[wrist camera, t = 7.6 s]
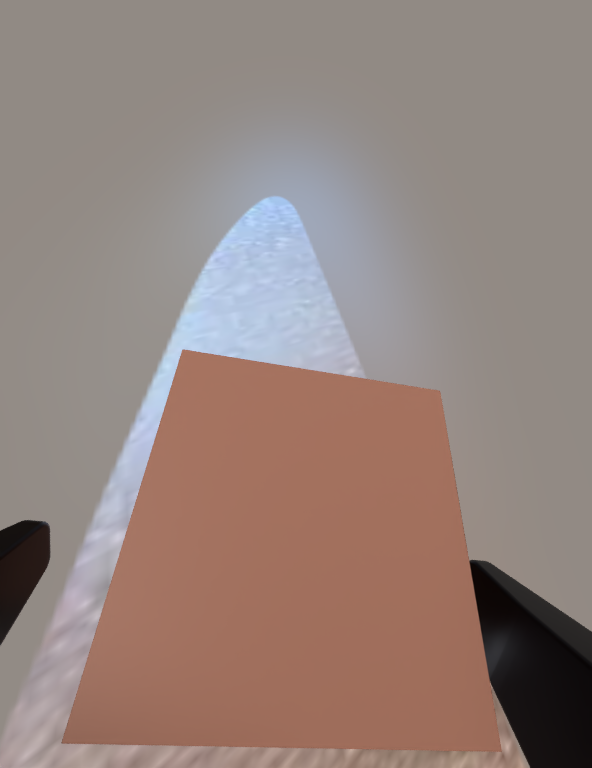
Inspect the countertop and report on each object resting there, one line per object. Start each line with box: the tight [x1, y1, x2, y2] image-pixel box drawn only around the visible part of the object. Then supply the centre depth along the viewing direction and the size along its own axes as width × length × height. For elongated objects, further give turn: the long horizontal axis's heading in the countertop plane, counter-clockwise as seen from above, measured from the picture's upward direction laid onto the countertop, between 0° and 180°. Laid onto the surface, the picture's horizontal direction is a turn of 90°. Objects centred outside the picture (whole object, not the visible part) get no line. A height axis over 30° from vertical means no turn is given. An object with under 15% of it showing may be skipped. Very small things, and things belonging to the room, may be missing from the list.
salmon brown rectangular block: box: [62, 350, 502, 752], centre depth 9 cm, size 4×4×12 cm
